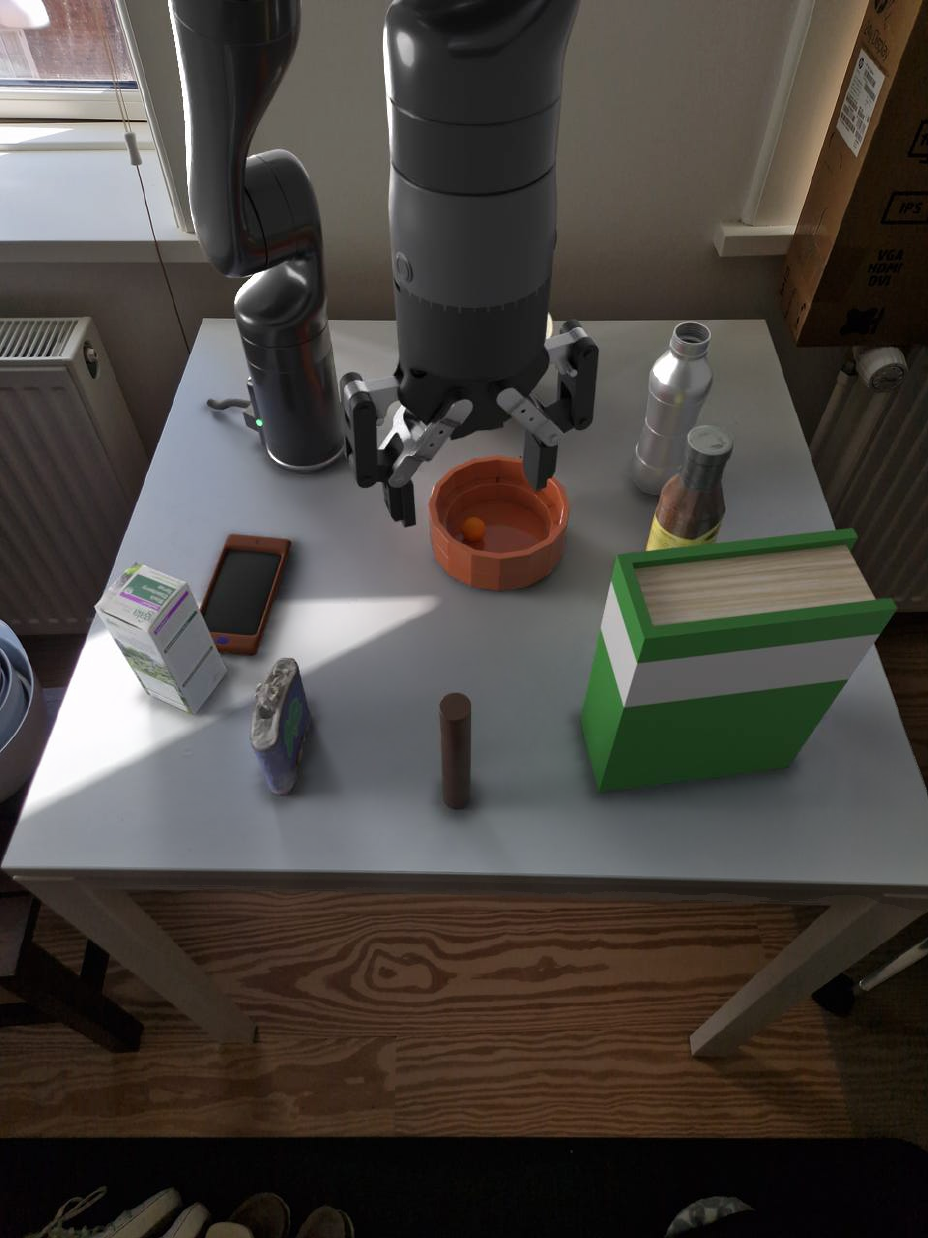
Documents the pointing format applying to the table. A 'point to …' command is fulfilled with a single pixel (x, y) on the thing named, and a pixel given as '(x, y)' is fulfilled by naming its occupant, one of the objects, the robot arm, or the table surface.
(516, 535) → the mixing bowl
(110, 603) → the syrup box
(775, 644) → the hardback book
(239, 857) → the table surface
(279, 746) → the flask
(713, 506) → the sauce bottle
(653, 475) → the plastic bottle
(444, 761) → the stick
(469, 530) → the ball
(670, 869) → the table surface
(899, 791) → the table surface
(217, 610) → the smartphone
